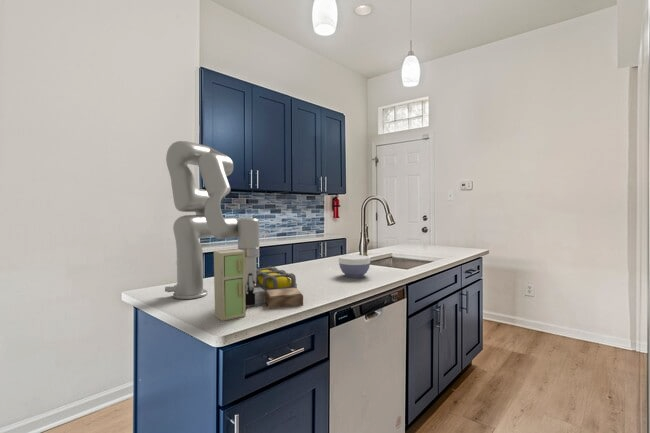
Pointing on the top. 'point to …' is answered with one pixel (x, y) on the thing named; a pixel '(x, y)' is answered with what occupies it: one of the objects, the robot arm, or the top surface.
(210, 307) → the top surface
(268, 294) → the stand
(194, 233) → the robot arm
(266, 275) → the cage light
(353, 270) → the bowl
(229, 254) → the toy refrigerator
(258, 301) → the block
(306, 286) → the top surface
